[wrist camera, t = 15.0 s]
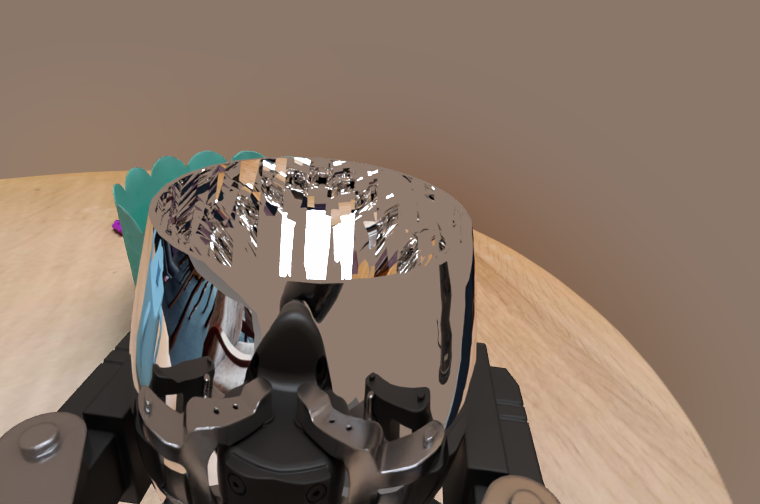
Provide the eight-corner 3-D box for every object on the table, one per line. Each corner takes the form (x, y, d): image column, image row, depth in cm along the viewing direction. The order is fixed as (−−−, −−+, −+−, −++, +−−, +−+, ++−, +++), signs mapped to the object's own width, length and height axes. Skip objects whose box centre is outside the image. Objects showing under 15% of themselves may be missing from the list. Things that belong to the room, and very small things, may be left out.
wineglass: (431, 753, 11) (599, 309, 5) (154, 814, 10) (5, 321, 4) (383, 513, 16) (443, 155, 10) (196, 533, 15) (154, 140, 9)
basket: (174, 257, 53) (162, 140, 47) (341, 266, 55) (350, 156, 49) (97, 381, 36) (62, 223, 30) (343, 387, 38) (357, 242, 32)
